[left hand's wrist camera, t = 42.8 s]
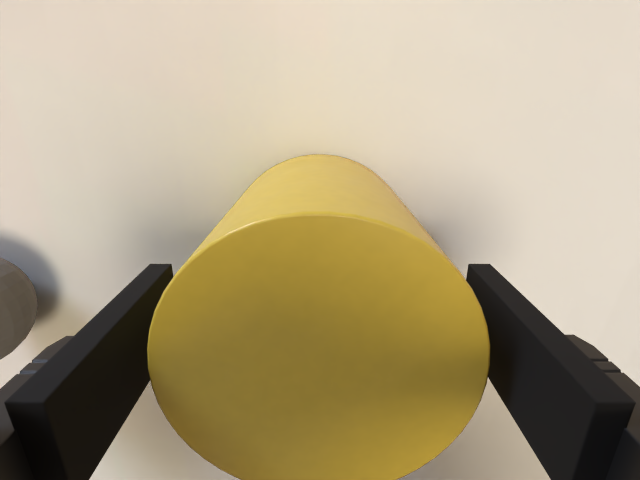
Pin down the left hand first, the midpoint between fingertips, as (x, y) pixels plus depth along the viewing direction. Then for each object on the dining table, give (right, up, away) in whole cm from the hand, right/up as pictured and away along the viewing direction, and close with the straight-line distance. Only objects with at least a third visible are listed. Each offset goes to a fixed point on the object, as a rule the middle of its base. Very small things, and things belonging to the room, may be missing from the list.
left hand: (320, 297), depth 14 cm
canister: (0, +2, +5) cm, 6 cm away
